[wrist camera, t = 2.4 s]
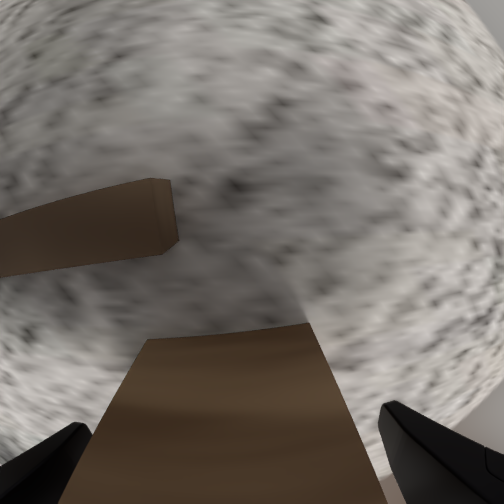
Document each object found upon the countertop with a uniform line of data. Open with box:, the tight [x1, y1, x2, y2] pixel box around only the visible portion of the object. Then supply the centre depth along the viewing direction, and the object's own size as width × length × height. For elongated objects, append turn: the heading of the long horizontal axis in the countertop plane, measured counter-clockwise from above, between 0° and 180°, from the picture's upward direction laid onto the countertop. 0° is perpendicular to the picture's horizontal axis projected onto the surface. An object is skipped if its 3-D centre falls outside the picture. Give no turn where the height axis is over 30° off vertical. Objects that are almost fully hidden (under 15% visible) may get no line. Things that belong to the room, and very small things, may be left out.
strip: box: [0, 178, 179, 278], centre depth 8 cm, size 2×14×2 cm, turn 97°
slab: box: [58, 323, 388, 504], centre depth 6 cm, size 3×6×9 cm, turn 97°
